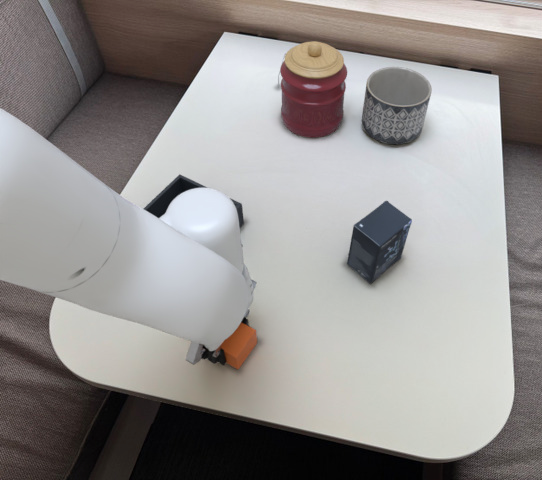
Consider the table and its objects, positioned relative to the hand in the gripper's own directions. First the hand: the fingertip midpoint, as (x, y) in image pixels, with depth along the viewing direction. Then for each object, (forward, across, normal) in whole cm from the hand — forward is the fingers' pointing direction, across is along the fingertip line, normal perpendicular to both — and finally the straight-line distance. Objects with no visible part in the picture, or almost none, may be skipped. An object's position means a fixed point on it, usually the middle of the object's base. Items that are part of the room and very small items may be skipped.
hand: (228, 343), depth 77 cm
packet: (+1, 0, 0) cm, 1 cm away
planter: (+1, -58, 0) cm, 58 cm away
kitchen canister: (+1, -52, -15) cm, 54 cm away
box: (+1, -25, +12) cm, 28 cm away
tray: (+1, -14, -18) cm, 23 cm away
